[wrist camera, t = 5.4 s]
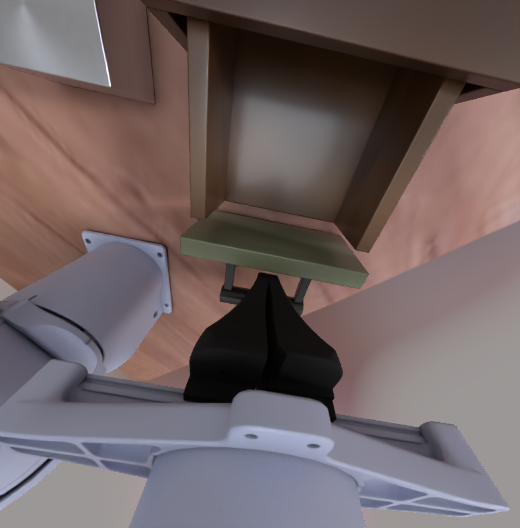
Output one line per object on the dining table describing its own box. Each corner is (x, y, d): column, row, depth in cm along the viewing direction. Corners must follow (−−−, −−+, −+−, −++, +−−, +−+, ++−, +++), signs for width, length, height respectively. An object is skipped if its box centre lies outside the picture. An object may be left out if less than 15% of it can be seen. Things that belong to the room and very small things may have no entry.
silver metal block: (146, 2, 10) (81, -71, 7) (155, 104, 13) (111, 88, 9) (27, -27, 10) (-100, -116, 7) (59, 83, 12) (-22, 58, 9)
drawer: (316, 288, 19) (331, 336, 14) (207, 267, 18) (183, 309, 14) (442, 11, 9) (628, -144, 4) (218, -45, 9) (148, -283, 4)
